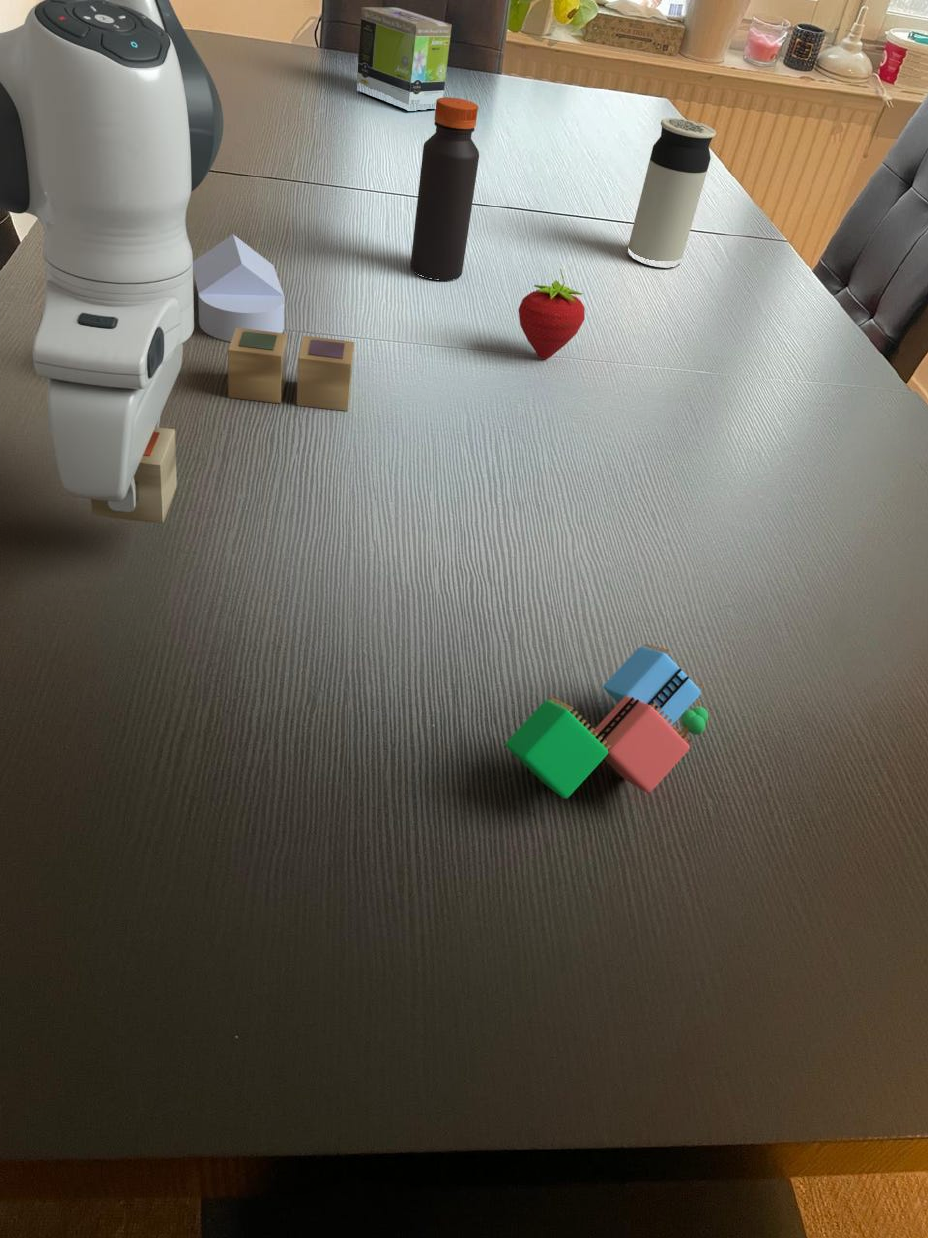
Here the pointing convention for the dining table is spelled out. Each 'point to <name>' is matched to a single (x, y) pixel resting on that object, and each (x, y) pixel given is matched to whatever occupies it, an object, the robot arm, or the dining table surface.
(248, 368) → the beech block
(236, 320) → the wedge on round base
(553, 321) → the strawberry
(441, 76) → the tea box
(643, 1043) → the dining table surface
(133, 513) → the maple block
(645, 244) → the travel mug
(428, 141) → the bottle
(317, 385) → the beech block
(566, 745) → the building blocks
